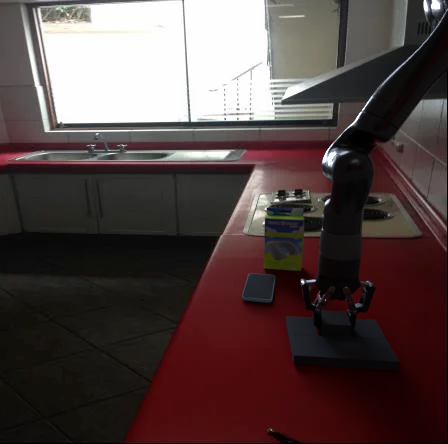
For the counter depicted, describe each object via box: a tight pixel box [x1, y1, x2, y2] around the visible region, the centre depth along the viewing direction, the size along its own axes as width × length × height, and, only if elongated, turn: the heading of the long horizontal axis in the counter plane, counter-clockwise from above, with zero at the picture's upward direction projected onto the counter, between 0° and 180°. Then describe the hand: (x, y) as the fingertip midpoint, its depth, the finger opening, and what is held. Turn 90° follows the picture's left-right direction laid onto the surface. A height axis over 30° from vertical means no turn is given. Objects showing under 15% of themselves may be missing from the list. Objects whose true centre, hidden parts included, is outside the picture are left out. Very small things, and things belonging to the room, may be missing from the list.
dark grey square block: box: [318, 309, 352, 338], centre depth 85 cm, size 6×6×3 cm
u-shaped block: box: [285, 315, 400, 372], centre depth 83 cm, size 18×14×2 cm
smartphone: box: [241, 272, 276, 304], centre depth 107 cm, size 7×1×15 cm
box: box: [262, 206, 305, 272], centre depth 116 cm, size 10×4×17 cm, turn 73°
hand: (333, 327), depth 86 cm, fingers closed on dark grey square block, 5 cm apart
